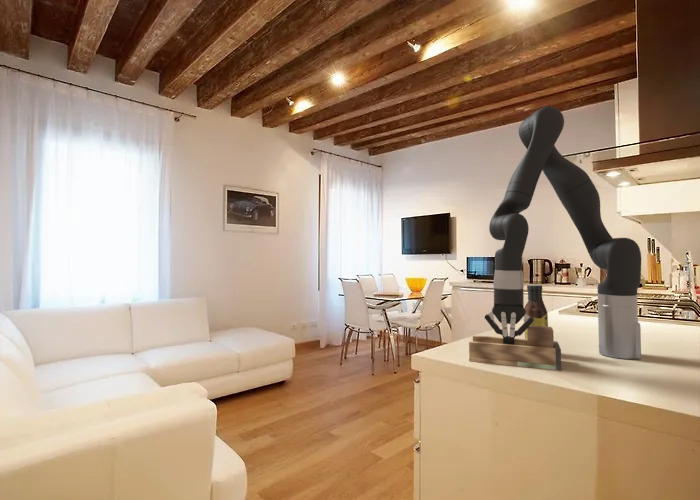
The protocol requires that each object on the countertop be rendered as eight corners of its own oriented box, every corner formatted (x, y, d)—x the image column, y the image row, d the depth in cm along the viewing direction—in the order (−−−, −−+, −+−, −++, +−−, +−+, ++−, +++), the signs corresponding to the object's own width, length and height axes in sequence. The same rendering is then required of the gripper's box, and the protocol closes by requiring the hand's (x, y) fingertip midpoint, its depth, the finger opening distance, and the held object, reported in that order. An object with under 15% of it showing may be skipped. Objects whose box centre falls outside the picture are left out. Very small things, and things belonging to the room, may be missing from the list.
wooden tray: (557, 359, 103) (557, 341, 103) (561, 370, 93) (561, 350, 93) (473, 351, 112) (473, 334, 112) (469, 361, 102) (468, 342, 102)
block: (552, 356, 101) (551, 326, 101) (554, 362, 96) (553, 330, 96) (527, 354, 104) (527, 325, 104) (528, 360, 98) (527, 329, 98)
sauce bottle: (551, 356, 106) (550, 285, 106) (528, 355, 107) (526, 285, 108) (544, 350, 112) (543, 284, 113) (522, 349, 114) (521, 284, 114)
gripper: (534, 286, 104) (535, 349, 103) (484, 285, 109) (484, 344, 109) (535, 288, 97) (536, 356, 97) (481, 287, 102) (482, 350, 102)
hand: (508, 350), depth 103 cm, fingers closed
